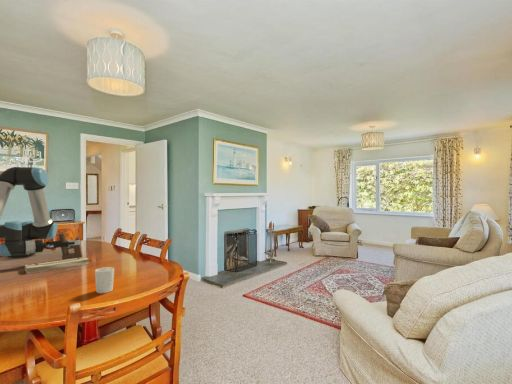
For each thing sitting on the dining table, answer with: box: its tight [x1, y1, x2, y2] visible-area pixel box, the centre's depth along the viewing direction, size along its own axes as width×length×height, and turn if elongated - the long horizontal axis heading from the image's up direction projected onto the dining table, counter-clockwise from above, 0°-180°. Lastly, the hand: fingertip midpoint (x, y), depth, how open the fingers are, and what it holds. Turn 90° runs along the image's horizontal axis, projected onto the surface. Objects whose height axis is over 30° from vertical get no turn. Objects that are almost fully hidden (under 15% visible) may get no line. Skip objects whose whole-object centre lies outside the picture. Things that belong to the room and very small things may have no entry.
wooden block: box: [58, 232, 84, 260], centre depth 183 cm, size 4×11×18 cm, turn 114°
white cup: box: [94, 266, 115, 294], centre depth 130 cm, size 8×8×10 cm
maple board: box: [24, 256, 90, 275], centre depth 168 cm, size 10×30×3 cm, turn 135°
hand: (79, 241), depth 185 cm, fingers closed on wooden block, 3 cm apart
